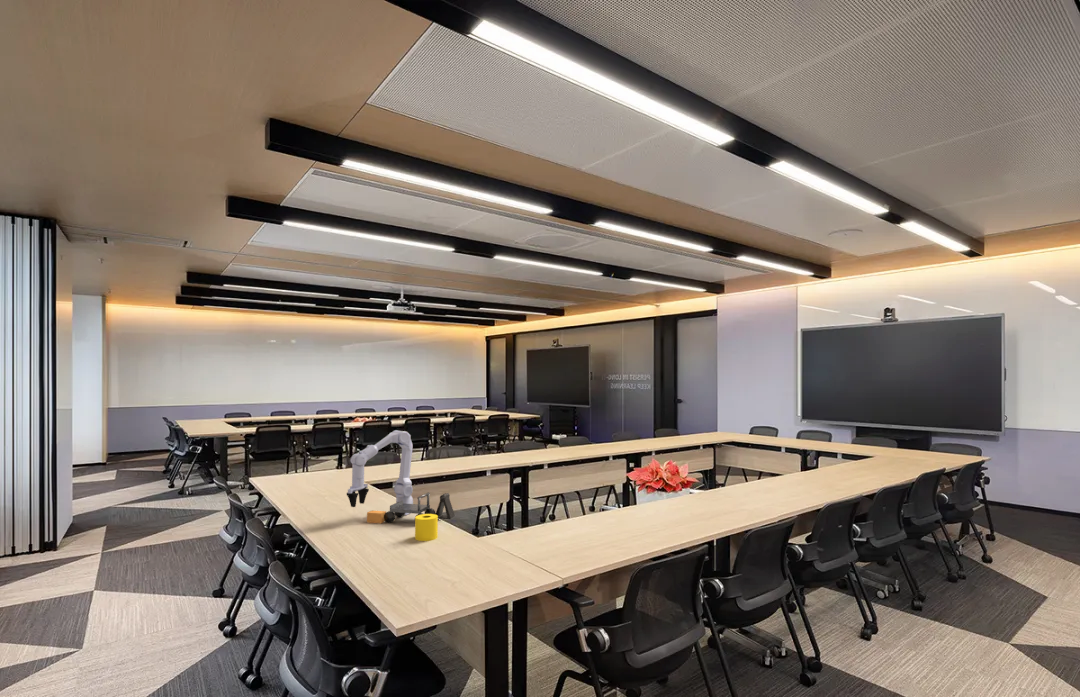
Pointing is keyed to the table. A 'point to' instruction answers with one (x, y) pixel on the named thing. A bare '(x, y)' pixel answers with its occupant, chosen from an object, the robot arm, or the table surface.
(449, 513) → the grey a-frame stand
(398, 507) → the trolley
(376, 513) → the orange rectangular block
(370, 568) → the table surface
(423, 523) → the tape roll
